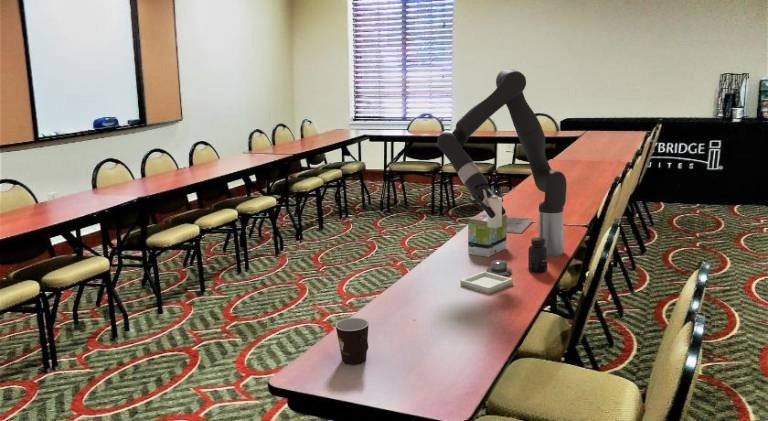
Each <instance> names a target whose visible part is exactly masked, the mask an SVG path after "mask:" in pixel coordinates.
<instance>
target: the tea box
mask: <svg viewBox="0 0 768 421" xmlns="http://www.w3.org/2000/svg"><path fill="white" fill-rule="evenodd" d="M507 215H508V214H507V213H505V214H504V215H502V227H499V228H490V227H488V226H487V213H486V211H485V212H482V213H480V214H477V215H474V216H472V217H469V218H467V219H468V220H467V221H468V222H467V225H468V226H467V229H468V230H467V231H468V232H467V253H468V254H469V255H473V256H479V257H487V258H489V257H491V256H493V255H495V254H497V253H499V252H501V251H504V250H506V249H507V239H508V238H507V236H508V235H507V233H508V232H507V217H508V216H507Z"/></svg>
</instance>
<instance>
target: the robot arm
mask: <svg viewBox="0 0 768 421" xmlns="http://www.w3.org/2000/svg"><path fill="white" fill-rule="evenodd" d="M526 85H527V79H526V76H525V75H524V74H523V73H522V72H521V71H518V70H515V69H511V68H506V69H502V70H501V71H499V72H498V74H497V75H496V78H495V86H496V89H495V90H493V92H492V93H491V94H489V95H488V96H487V97H486V98H485V99H484V100H481V102H479V103H477V104H476V105H474V106H472V108H470V109H469V110H468V111H467V112H466V113H465V114H464V115H462V117H461V118H459V120H458V121H457V122H456V124H455V128H454V130H453V131H452V132H449V131H443V132H441V133H440V134H439V136H438V137H437V141H436V143H437V144H436V145H437V146H438V148H439V149H440V151H441V152H442V153H443V155H444V156H445V157H446V158H447V160H448V161H449V162H450V164H451V166H452V168H453V169H454V170H455V172H456V173H457V175H458V177H459V178H460V181H461V182H462V183H463V185H464V186H465V188H466V189H467V191H468V192H469V193H470V194H471V195H470V196H469V197H468V199H469V200H470V202H472V204H473V205H474V206H475V208H477V209H478V210H479V211H481V210H482V211H485V212H486V213H487V214H488V216H489V217H490V218H494V217H495V215H496V214H495V213H494V211H493V210H492V208H491V207H489V204H488V198H489V197H491V196H494V195H496V196H498V197H500V198H502V203H503V202H504V199H503V197H502V195H501V193H500V189H499V188H497V187H496V188H494V189H493V188H491V187H490V186H489V182H488V179H487V178H486V177H485V175H484V174H483V173H482V171H481V170H480V168H479V167H478V166H477V165H476V163H475V162H474V161H473V159H472V158H471V157H470V155H469V154H468V153H467V152H466V151H465V149H464V148H463V147H464V145H465V144H466V143H467V141H468V140H469V138H470V137H471V136H472V135H473V134H474V133H475V132H476V131H477V130H478V129H479V128H480V127H481V126H483V124H484V123H486V121H488V120H489V118H490V117H492V116H493V115H494V114H495V113H496V112H497V111H499V110H500V109H501V108H503V107H504V105H506V108H507V109H508V112H509V115H510V118H511V121H512V124H513V128H514V130H515V132H516V134H517V137H518V139H519V143H520V144H521V147H522V149H523V151H524V154H525V156H526V159H527V161H528V163H529V164H528V165H529V167H530V170H531V173H532V174H531V175H532V176H533V177H532V178H533V181H534V184H535V186H536V188H537V189H538V190H539V191H540V192H542V193H544V200H543V201H541V202H540V203H539V204H538V237H539V238H544V239H545V246H546V247H547V249H548V257H559V256H562V255H563V253H564V249H565V248H564V247H565V246H564V245H565V229H564V207H565V204H566V201H567V200H566V199H567V179H566V178H567V177H566V176H565V174H564V173H563V172H561V171H560V170H559V171H558V170H554V169H552V167H551V165H550V163H549V162H548V159H547V157H546V135H545V133H544V130H543V128H542V125H541V123H540V120H539V118H538V117H537V115H536V114H535V113H534V111H533V109H532V108H531V106H530V105H529V104H528V102H527V100H526V97H525V94H524V93H523V92H524V91H525V89H526ZM506 212H507V211H506V209H505V208H504V206H503V205H502V215H504V214H507V213H506Z"/></svg>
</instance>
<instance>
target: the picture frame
mask: <svg viewBox="0 0 768 421" xmlns="http://www.w3.org/2000/svg"><path fill="white" fill-rule="evenodd" d="M532 223H533V218H532V217H530V218H529V217H514V216H513V217H512V216H507V233H511V234H512V233H514V234H515V233H516V234H522V233H523V232H524V231H525V230H526V229H527V228H528V227H529V226H530V225H531V224H532Z"/></svg>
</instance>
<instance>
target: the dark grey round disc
mask: <svg viewBox="0 0 768 421" xmlns="http://www.w3.org/2000/svg"><path fill="white" fill-rule="evenodd" d="M485 272H489V273H492V274H496V275H500V276H504V277H508V276H511V275H512V273H513V270H512V269H511V268H510V267H508V263H507V261H506V260H502V259H496V260H492V261H490V267H488V268H486V271H485Z"/></svg>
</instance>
